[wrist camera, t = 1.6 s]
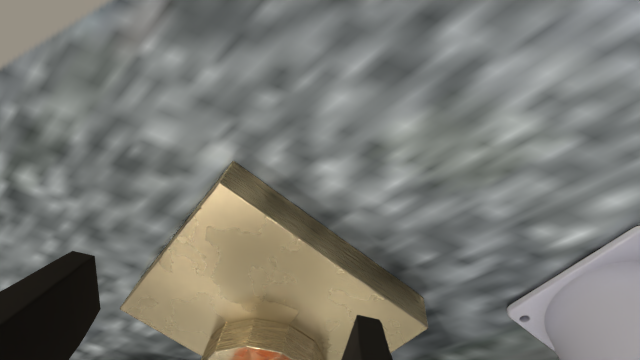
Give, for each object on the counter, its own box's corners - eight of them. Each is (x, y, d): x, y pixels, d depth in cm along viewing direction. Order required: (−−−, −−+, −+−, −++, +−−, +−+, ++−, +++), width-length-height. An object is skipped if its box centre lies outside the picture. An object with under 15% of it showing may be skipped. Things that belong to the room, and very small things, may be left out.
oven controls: (423, 297, 23) (433, 358, 19) (297, 387, 28) (287, 448, 25) (233, 160, 20) (205, 204, 16) (131, 290, 25) (93, 344, 22)
